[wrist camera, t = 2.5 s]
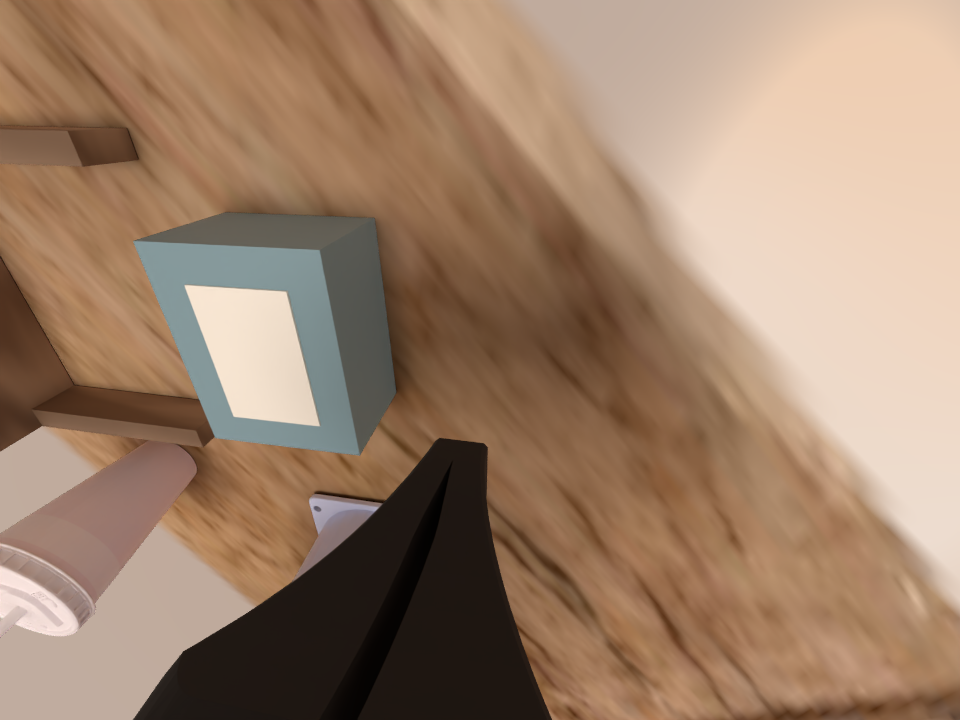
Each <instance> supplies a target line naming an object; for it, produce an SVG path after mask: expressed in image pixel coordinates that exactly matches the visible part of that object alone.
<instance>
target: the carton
mask: <svg viewBox="0 0 960 720" xmlns="http://www.w3.org/2000/svg"><path fill="white" fill-rule="evenodd" d="M133 242H134V245H135V247H136V249H137V252H138V254H139V257H140V259H141V261H142V264H143V266H144V268H145V271H146V273H147V276H148V278H149V280H150V283H151V285H152V288H153V290H154V292H155V295H156V297H157V300H158V302H159V304H160V307H161V309H162V312H163V314H164V316H165V319H166V321H167V324H168V326H169V328H170V331H171V333H172V336H173V338H174V340H175V343H176V345H177V348H178V350H179V352H180V355H181V357H182V360H183V362H184V364H185V367H186V369H187V371H188V374H189V376H190V379H191V381H192V383H193V386H194V388H195V391H196V393H197V395H198V398H199V400H200V403H201V405H202V407H203V410H204V412H205V415H206V417H207V419H208V422H209V424H210V427H211V429H212V431H213V434H214V436H215V438H219V439H228V440H236V441H244V442H252V443H261V444H269V445H277V446H285V447H294V448H302V449H310V450H318V451H327V452H335V453H343V454H351V455H360V454H361V453H362V451H363V449H364V447H365V446H366V444H367V442H368V441H369V439H370V437H371V435H372V434H373V432H374V430H375V429H376V427H377V425H378V423H379V422H380V420H381V418H382V417H383V415H384V413H385V411H386V410H387V408H388V406H389V405H390V403H391V401H392V399H393V398H394V396H395V394H396V386H395V378H394V370H393V362H392V353H391V345H390V337H389V329H388V321H387V313H386V305H385V297H384V289H383V281H382V273H381V265H380V257H379V248H378V240H377V232H376V224H375V218H365V217H337V216H310V215H283V214H255V213H228V212H225V213H222V214H219V215H215V216H212V217H209V218H206V219H202V220H199V221H196V222H193V223H189V224H186V225H183V226H180V227H177V228H173V229H170V230H167V231H164V232H160V233H157V234H154V235H151V236H147V237H144V238H141V239H138V240H134V241H133Z"/></svg>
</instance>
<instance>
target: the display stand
mask: <svg viewBox="0 0 960 720" xmlns="http://www.w3.org/2000/svg"><path fill="white" fill-rule="evenodd" d="M133 160H138V158H137V155H136V152H135V149H134V147H133V144H132V141H131V139H130V136H129V133H128V130H127V128H95V127H46V126H0V164H25V165H54V166H82V167H83V166H91V165H99V164H108V163H116V162H124V161H133ZM41 426H47V427H54V428H62V429H69V430H76V431H84V432H91V433H99V434H106V435H114V436H121V437H129V438H136V439H144V440H151V441H159V442H166V443H174V444H181V445H189V446H196V447H204V446H205V445H206V444H207V443H208V442H209V441H210V440H212V439H213V438H214V437H215V436H214V434H213V431H212V429H211V427H210V424H209V422H208V419H207V417H206V415H205V412H204V410H203V407H202V405H201V403H200V400H195V399H187V398H178V397H169V396H161V395H152V394H144V393H135V392H127V391H118V390H110V389H101V388H93V387H84V386H76V385H74V384H73V383H72V381H71V379H70V377H69V376H68V374H67V372H66V370H65V369H64V367H63V365H62V364H61V362H60V360H59V358H58V357H57V355H56V353H55V351H54V350H53V348H52V346H51V344H50V343H49V341H48V339H47V338H46V336H45V334H44V332H43V331H42V329H41V327H40V325H39V324H38V322H37V320H36V319H35V317H34V315H33V313H32V312H31V310H30V308H29V306H28V305H27V303H26V301H25V299H24V298H23V296H22V294H21V293H20V291H19V289H18V287H17V286H16V284H15V282H14V280H13V279H12V277H11V275H10V273H9V272H8V270H7V268H6V267H5V265H4V263H3V261H2V260H1V258H0V451H2V450H3V449H5V448H7V447H8V446H10V445H12V444H13V443H15V442H17V441H18V440H20V439H21V438H23V437H25V436H27V435H28V434H30V433H31V432H33V431H35V430H36V429H38V428H40V427H41Z"/></svg>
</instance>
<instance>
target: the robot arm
mask: <svg viewBox="0 0 960 720" xmlns="http://www.w3.org/2000/svg"><path fill="white" fill-rule="evenodd" d="M487 455H488V447H487V446H486V445H485V444H484V443H476V442H468V441H460V440H452V439H443V438H439V439H438V440H436V441H435V443H434V444H433V445H432V447H431V448H430V449H429V451H428V452H427V453H426V455H425V456H424V457H423V458H422V460H421V461H420V462H419V463H418V465H417V466H416V467H415V468H414V469H413V471H412V472H411V473H410V474H409V475H408V477H407V478H406V479H405V480H404V481H403V482H402V483H401V484H400V486H399V487H398V488H397V489H396V490H395V491H394V492H393V493H392V495H391V496H390V497H389V498H388V499H387V500H386V501H385V502H384V503H376V502H370V501H363V500H356V499H349V498H342V497H335V496H328V495H321V494H313V495H312V496H311V498H310V499H309V504H310V507H311V511H312V514H313V518H314V521H315V525H316V528H317V532H318V535H319V536H318V537H317V539H316V541H315V543H314V544H313V546H312V548H311V550H310V551H309V553H308V555H307V557H306V558H305V560H304V562H303V564H302V565H301V567H300V569H299V571H298V572H297V574H296V576H295V578H294V579H293V581H292V583H290V584H289V585H287V586H286V587H284V588H283V589H281V590H280V591H278V592H277V593H276V594H274V595H273V596H271V597H270V598H268V599H267V600H265V601H264V602H263V603H261V604H260V605H258V606H257V607H255V608H254V609H252V610H251V611H249V612H248V613H246V614H245V615H243V616H242V617H240V618H238V619H237V620H235V621H233V622H232V623H230V624H228V625H227V626H225V627H223V628H222V629H220V630H219V631H217V632H215V633H214V634H212V635H210V636H209V637H207V638H205V639H204V640H202V641H201V642H199V643H197V644H195V645H194V646H192V647H190V648H188V649H187V650H185V651H183V653H182V654H181V655H180V656H179V658H178V659H177V660H176V662H175V663H174V664H173V665H172V667H171V668H170V669H169V670H168V671H167V672H166V674H165V675H164V677H163V678H162V679H161V681H160V682H159V684H158V685H157V686H156V688H155V689H154V691H153V692H152V693H151V695H150V696H149V698H148V699H147V701H146V702H145V704H144V705H143V706H142V708H141V709H140V711H139V712H138V714H137V715H136V716H135V718H134V719H133V720H552V719H551V716H550V714H549V711H548V709H547V707H546V704H545V702H544V699H543V697H542V694H541V692H540V689H539V687H538V684H537V682H536V679H535V677H534V674H533V672H532V669H531V666H530V664H529V661H528V658H527V655H526V653H525V650H524V647H523V645H522V642H521V639H520V635H519V632H518V629H517V626H516V623H515V620H514V617H513V614H512V611H511V608H510V605H509V602H508V599H507V595H506V591H505V588H504V584H503V581H502V577H501V573H500V569H499V565H498V561H497V557H496V553H495V548H494V543H493V538H492V533H491V528H490V522H489V516H488V508H487V500H486V494H487Z"/></svg>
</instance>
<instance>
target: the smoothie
mask: <svg viewBox="0 0 960 720" xmlns="http://www.w3.org/2000/svg"><path fill="white" fill-rule="evenodd" d="M196 472H197V467H196V464H195V462H194V460H193V458H192V457H191V456H190V455H189V454H188V453H187V452H186V451H185V450H184V449H183V448H181V447H180V446H178V445H177V444H174V443H166V442H159V441H151V440H149V441H147V442H145V443H144V444H142V445H141V446H139V447H137V448H136V449H134V450H133V451H131V452H129V453H128V454H126V455H125V456H123V457H121V458H120V459H118V460H117V461H115V462H113V463H112V464H110V465H109V466H107V467H106V468H104V469H102V470H101V471H99V472H98V473H96V474H94V475H93V476H91V477H90V478H88V479H86V480H85V481H83V482H82V483H80V484H78V485H77V486H75V487H74V488H72V489H71V490H69V491H67V492H66V493H64V494H62V495H61V496H59V497H58V498H56V499H55V500H53V501H51V502H50V503H48V504H46V505H45V506H43V507H42V508H40V509H39V510H37V511H35V512H34V513H32V514H31V515H29V516H27V517H25V518H24V519H22V520H21V521H19V522H17V523H16V524H15V525H13V526H11V527H10V528H8V529H7V530H5V531H3V532H2V533H0V617H1V618H3V619H2V620H0V637H1V636H3V635H4V634H5V633H6V632H7V631H8V630H9V629H10V628H11V627H12V626H13V625H14V624H16V625H18V626H21V627H23V628H26V629H28V630H31V631H35V632H38V633H42V634H47V635H53V636H68V635H71V634H74V633H75V632H77V631H78V630H79V629H80V627H81V626H82V625H83V624H84V623H85V622H86V621H87V620H88V619H89V618H90V617H92V616H93V615H94V614H95V608H96V606H95V603H96V601H97V600H98V599H99V597H100V596H101V595H102V594H103V592H104V591H105V590H106V589H107V587H108V586H109V585H110V584H111V582H112V581H113V580H114V579H115V577H116V576H117V575H118V573H119V572H120V571H121V569H122V568H123V567H124V566H125V564H126V563H127V561H128V560H129V559H130V558H131V557H132V555H133V554H134V553H135V552H136V550H137V549H138V548H139V546H140V545H141V544H142V543H143V541H144V540H145V539H146V537H147V536H148V535H149V534H150V532H151V531H152V530H153V529H154V527H155V526H156V525H157V523H158V522H159V521H160V520H161V518H162V517H163V516H164V514H165V513H166V512H167V511H168V509H169V508H170V507H171V506H172V504H173V503H174V502H175V500H176V499H177V498H178V497H179V495H180V494H181V493H182V491H183V490H184V489H185V488H186V486H187V485H188V484H189V483H190V481H191V480H192V479H193V477H194V476H195V475H196Z"/></svg>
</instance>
